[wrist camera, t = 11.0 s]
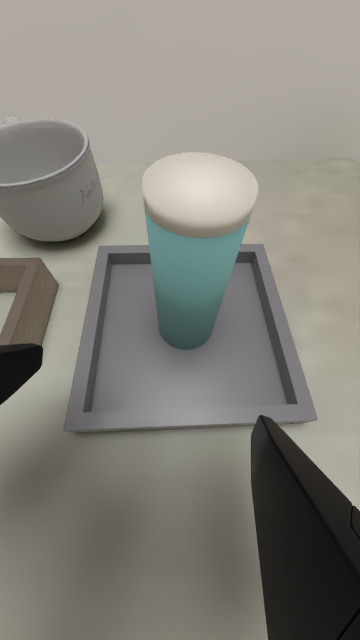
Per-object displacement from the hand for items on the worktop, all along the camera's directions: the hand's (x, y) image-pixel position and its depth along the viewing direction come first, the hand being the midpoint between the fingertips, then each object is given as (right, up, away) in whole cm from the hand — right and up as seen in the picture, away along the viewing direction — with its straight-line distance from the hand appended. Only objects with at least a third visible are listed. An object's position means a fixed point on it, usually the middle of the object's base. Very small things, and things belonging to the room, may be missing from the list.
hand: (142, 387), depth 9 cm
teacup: (-13, +15, +18) cm, 27 cm away
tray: (+2, +2, +11) cm, 11 cm away
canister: (+2, +2, +11) cm, 11 cm away
